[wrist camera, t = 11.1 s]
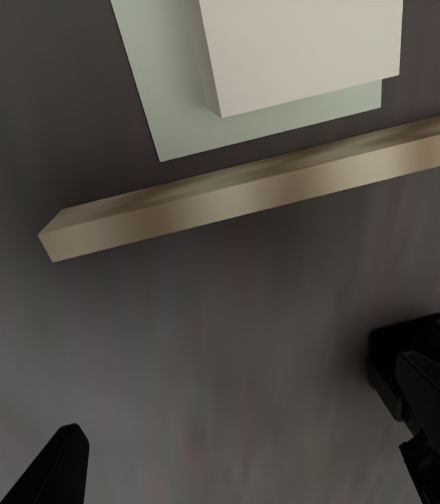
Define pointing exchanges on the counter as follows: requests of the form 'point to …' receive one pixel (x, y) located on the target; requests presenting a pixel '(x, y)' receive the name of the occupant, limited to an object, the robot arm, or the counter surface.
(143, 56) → the sage mat
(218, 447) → the counter surface
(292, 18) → the letter cube
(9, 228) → the counter surface
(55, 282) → the counter surface
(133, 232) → the birch screen
